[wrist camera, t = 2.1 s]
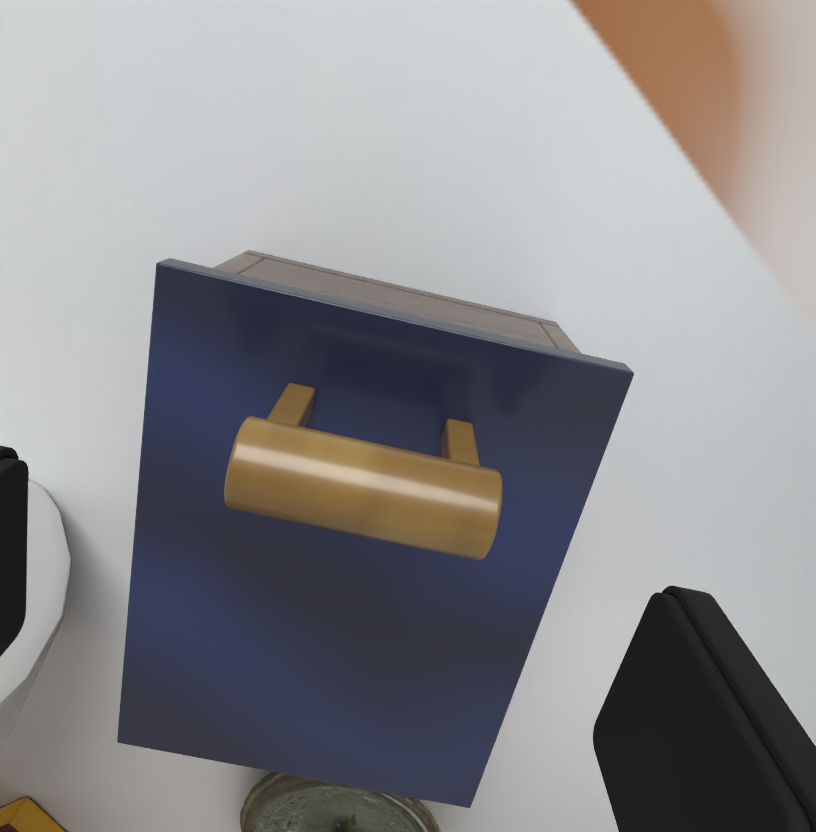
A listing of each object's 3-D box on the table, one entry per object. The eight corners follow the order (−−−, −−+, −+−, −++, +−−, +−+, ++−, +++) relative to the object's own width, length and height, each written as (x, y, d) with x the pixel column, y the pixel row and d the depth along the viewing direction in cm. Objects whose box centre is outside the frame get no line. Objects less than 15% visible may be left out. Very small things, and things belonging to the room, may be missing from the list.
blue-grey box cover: (168, 257, 16) (39, 305, 10) (625, 363, 16) (719, 458, 11) (127, 722, 21) (29, 905, 16) (468, 787, 22) (482, 982, 17)
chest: (247, 249, 23) (166, 289, 16) (557, 322, 24) (614, 391, 17) (203, 579, 28) (127, 721, 21) (457, 630, 29) (468, 785, 22)
